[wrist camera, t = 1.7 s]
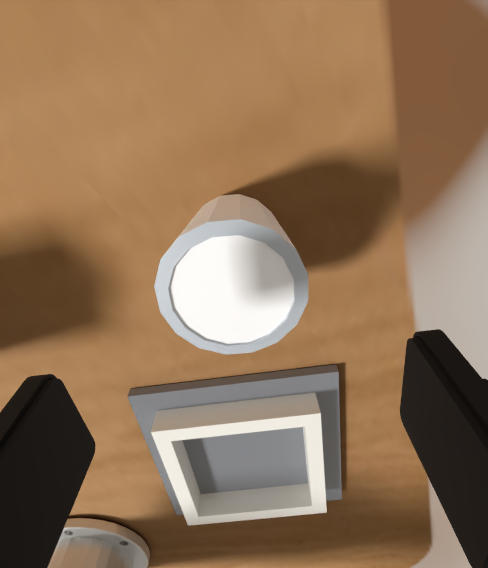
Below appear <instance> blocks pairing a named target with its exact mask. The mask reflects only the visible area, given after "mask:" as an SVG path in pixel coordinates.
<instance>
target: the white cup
mask: <svg viewBox="0 0 488 568" xmlns="http://www.w3.org/2000/svg"><path fill="white" fill-rule="evenodd" d="M154 287H155V291H156V296H157V300H158V305H159V309H160V312H161V314H162V315H163V317H164V318H165V319H166V321H167V322H168V323H169V325H170V326H171V327H172V329H173V330H174V331H175V333H176V334H178V335H179V336H181V337H182V338H184V339H186V340H187V341H189V342H190V343H192V344H193V345H195V346H197V347H198V348H201V349H205V350H209V351H213V352H217V353H222V354H239V353H253V352H255V351H257V350H260V349H262V348H265V347H267V346H270V345H272V344H274V343H277V342H278V341H279V340H281V339H282V338H283V337H284V336H285V335H286V334H287V333H288V332H289V331H290V330H292V329H293V328H294V327H295V326H296V325H297V323H298V321H299V319H300V317H301V315H302V313H303V311H304V309H305V306H306V304H307V302H308V273H307V271H306V269H305V267H304V265H303V263H302V260H301V258H300V256H299V254H298V252H297V250H296V248H295V247H294V245H293V244H292V242H291V241H290V239H289V238H288V236H287V235H286V233H285V232H284V230H283V229H282V227H281V226H280V224H279V223H278V221H277V220H276V218H275V217H274V215H273V214H272V212H271V211H270V210H269V209H267V208H266V207H265V206H264V205H263V204H262V203H260V202H259V201H258V200H257V199H253V198H250V197H247V196H244V195H241V194H233V195H221V196H219V197H217V198H215V199H213V200H211V201H209V202H207V203H206V204H204V205H203V206H202V208H201V209H200V210H199V211H198V213H197V214H196V215H195V216H194V218H193V219H192V220H191V221H190V223H189V224H188V225H187V227H186V228H185V229H184V230H183V232H182V233H181V234H180V235H179V237H178V238H177V239H176V241H175V242H174V243H173V244H172V246H171V247H170V248H169V249H168V251H167V252H166V253H165V255H164V256H163V257H162V258H161V260H160V264H159V268H158V273H157V277H156V281H155V286H154Z"/></svg>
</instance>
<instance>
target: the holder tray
mask: <svg viewBox="0 0 488 568" xmlns="http://www.w3.org/2000/svg"><path fill="white" fill-rule="evenodd" d="M128 399H129V401H130V404H131V406H132V409H133V411H134V414H135V416H136V418H137V421H138V423H139V426H140V428H141V430H142V433H143V435H144V438H145V440H146V442H147V445H148V447H149V450H150V452H151V454H152V457H153V459H154V462H155V464H156V466H157V469H158V471H159V474H160V476H161V479H162V481H163V483H164V486H165V488H166V491H167V493H168V495H169V498H170V500H171V503H172V505H173V507H174V510H175V512H176V515H184V517H185V519H186V522H187V524H188V526H190V525H201V524H212V523H222V522H233V521H243V520H254V519H264V518H275V517H285V516H296V515H306V514H317V513H327V508H326V501H331V500H341V499H342V487H341V448H340V408H339V371H338V369H337V366H336V364H335V365H326V366H318V367H310V368H301V369H293V370H284V371H276V372H268V373H259V374H251V375H243V376H234V377H226V378H217V379H209V380H201V381H192V382H184V383H176V384H167V385H159V386H151V387H142V388H134V389H130V391H129V394H128Z"/></svg>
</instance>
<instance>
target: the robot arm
mask: <svg viewBox="0 0 488 568" xmlns="http://www.w3.org/2000/svg"><path fill="white" fill-rule="evenodd" d="M400 415H401V420H402V423H403V425H404V427H405V429H406V431H407V434H408V436H409V438H410V440H411V442H412V444H413V446H414V448H415V450H416V452H417V454H418V457H419V459H420V461H421V463H422V465H423V467H424V469H425V471H426V473H427V475H428V477H429V480H430V482H431V484H432V486H433V488H434V490H435V492H436V494H437V496H438V498H439V500H440V502H441V504H442V507H443V509H444V511H445V513H446V515H447V517H448V519H449V521H450V523H451V525H452V528H453V530H454V532H455V534H456V536H457V538H458V540H459V542H460V544H461V546H462V548H463V550H464V553H465V555H466V557H467V559H468V561H469V563H470V565H471V566H472V568H488V380H487V379H482V378H481V377H480V376H479V374H478V373H477V372H476V371H475V370H474V368H473V367H472V366H471V365H470V364H469V362H468V361H467V360H466V359H465V358H464V357H463V355H462V354H461V353H460V351H459V350H458V349H457V348H456V347H455V345H454V344H453V343H452V342H451V341H450V340H449V338H448V337H447V336H446V335H445V333H444V332H443V331H441V330H439V329H438V330H430V331H420V332H415V334H414V336H413V338H410V339H408V340H407V346H406V356H405V366H404V376H403V385H402V395H401V405H400ZM94 453H95V441H94V439H93V437H92V435H91V434H90V432H89V430H88V428H87V426H86V424H85V423H84V421H83V419H82V417H81V415H80V413H79V412H78V410H77V408H76V406H75V404H74V402H73V400H72V399H71V397H70V395H69V393H68V391H67V389H66V388H65V386H64V384H63V382H62V381H61V380H60V379H57V378H56V377H55V376H54V375H52V374H47V375H38V376H30V377H28V378H27V379H26V380H25V381H24V382H23V383H22V385H21V386H20V387H19V389H18V390H17V391H16V393H15V394H14V395H13V397H12V398H11V399H10V401H9V402H8V403H7V405H6V406H5V407H4V408H3V410H2V411H1V412H0V568H148V564H149V558H150V551H149V548H148V546H147V544H146V542H145V541H144V540H143V539H142V538H141V537H140V536H139V535H137V534H136V533H135V532H133V531H131V530H130V529H128V528H126V527H124V526H121V525H118V524H116V523H112V522H109V521H105V520H99V519H92V518H70V519H68V517H69V514H70V512H71V509H72V507H73V505H74V502H75V500H76V497H77V495H78V492H79V490H80V488H81V485H82V483H83V480H84V478H85V475H86V473H87V471H88V468H89V466H90V463H91V461H92V458H93V456H94Z"/></svg>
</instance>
